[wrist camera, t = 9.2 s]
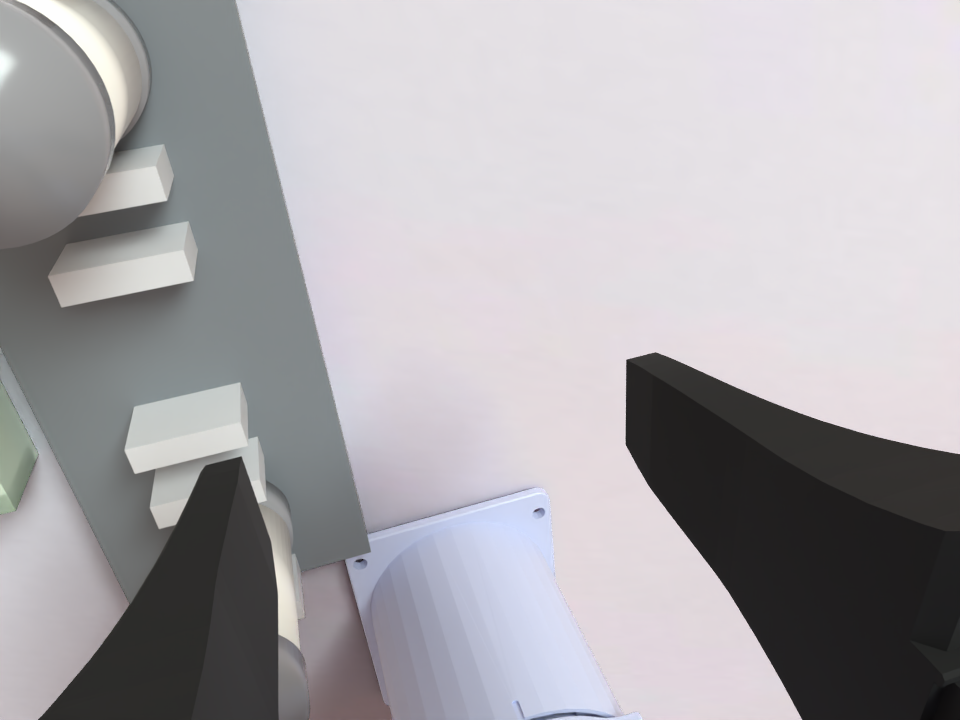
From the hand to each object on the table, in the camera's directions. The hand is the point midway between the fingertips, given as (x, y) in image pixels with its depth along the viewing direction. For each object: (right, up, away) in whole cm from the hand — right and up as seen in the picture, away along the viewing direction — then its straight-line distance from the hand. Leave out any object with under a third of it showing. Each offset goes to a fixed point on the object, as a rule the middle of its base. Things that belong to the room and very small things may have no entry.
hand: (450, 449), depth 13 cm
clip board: (-9, +3, +8) cm, 12 cm away
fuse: (-9, +8, +3) cm, 13 cm away
